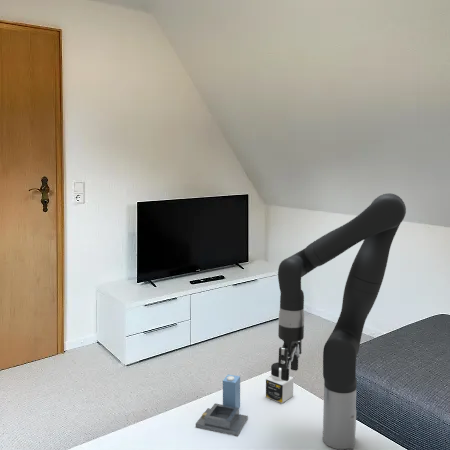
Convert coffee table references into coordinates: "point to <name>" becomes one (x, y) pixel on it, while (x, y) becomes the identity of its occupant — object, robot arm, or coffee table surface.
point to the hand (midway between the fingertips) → (289, 374)
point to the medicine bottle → (278, 385)
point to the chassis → (222, 419)
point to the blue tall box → (231, 391)
